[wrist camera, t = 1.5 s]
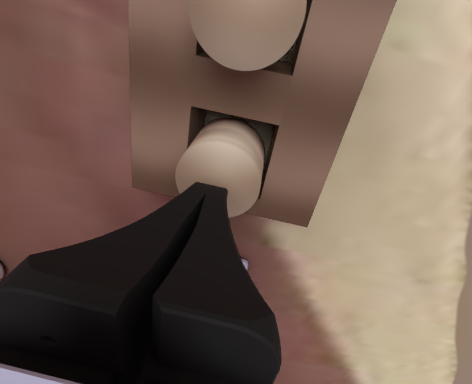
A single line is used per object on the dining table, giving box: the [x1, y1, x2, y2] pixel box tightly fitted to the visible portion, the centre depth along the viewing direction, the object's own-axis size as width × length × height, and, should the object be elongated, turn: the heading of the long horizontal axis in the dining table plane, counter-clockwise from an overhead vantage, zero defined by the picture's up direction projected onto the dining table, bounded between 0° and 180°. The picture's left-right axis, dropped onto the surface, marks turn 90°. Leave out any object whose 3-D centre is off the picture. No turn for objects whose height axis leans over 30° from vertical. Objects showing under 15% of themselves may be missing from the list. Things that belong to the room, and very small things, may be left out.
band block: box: [128, 0, 397, 227], centre depth 16 cm, size 14×11×4 cm
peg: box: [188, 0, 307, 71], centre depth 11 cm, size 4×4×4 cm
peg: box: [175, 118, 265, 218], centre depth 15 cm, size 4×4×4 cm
